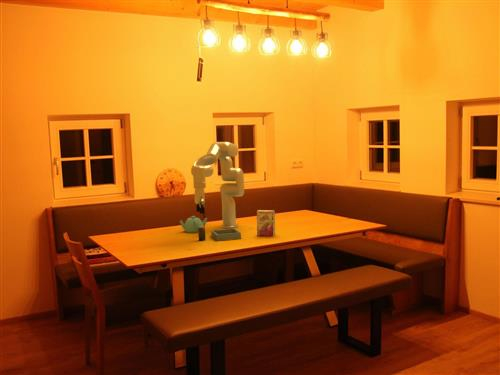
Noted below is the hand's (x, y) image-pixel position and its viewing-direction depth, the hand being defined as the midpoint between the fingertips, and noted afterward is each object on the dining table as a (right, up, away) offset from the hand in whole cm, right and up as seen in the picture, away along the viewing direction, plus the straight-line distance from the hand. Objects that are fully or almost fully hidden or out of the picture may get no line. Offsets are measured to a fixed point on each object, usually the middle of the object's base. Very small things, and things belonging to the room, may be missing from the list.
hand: (200, 212), depth 328 cm
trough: (+16, -17, +8) cm, 24 cm away
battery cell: (+1, -18, +2) cm, 18 cm away
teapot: (-8, -15, +34) cm, 38 cm away
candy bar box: (+42, -16, +10) cm, 46 cm away
